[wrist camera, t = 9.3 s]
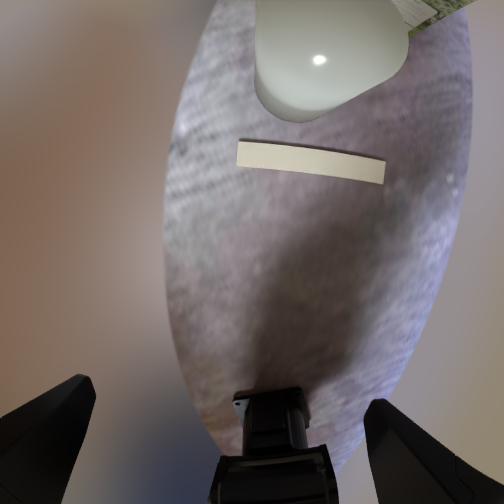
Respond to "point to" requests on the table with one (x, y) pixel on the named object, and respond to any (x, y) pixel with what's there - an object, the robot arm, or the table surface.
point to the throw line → (310, 161)
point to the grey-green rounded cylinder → (324, 53)
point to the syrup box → (426, 12)
